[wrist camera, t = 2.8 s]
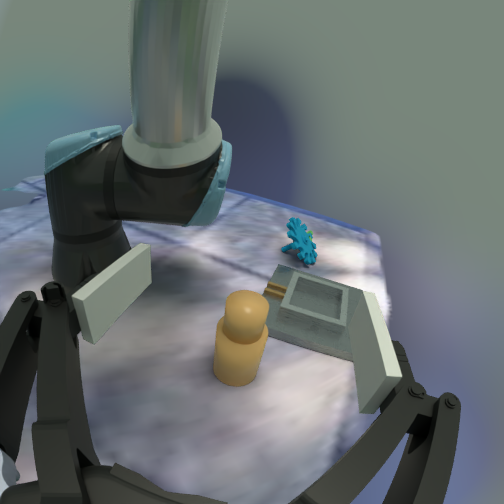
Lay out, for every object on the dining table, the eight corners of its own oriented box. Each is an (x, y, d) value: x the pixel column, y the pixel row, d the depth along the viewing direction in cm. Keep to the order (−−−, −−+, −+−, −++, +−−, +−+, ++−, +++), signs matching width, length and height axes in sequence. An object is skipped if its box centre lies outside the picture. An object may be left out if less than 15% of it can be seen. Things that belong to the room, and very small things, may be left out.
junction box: (247, 328, 36) (250, 312, 35) (276, 270, 50) (280, 257, 48) (357, 362, 33) (366, 348, 31) (359, 296, 46) (365, 283, 45)
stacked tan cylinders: (205, 375, 29) (209, 311, 23) (223, 346, 33) (232, 280, 28) (248, 392, 27) (266, 331, 22) (262, 360, 32) (281, 296, 27)
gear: (309, 269, 49) (286, 219, 49) (283, 279, 52) (260, 232, 52) (325, 254, 58) (305, 212, 58) (302, 263, 61) (283, 223, 61)
